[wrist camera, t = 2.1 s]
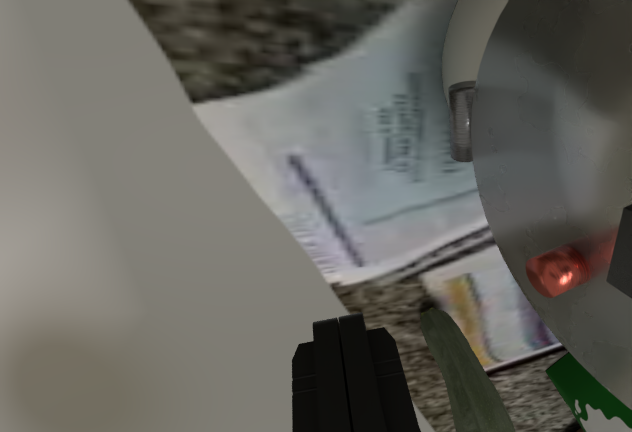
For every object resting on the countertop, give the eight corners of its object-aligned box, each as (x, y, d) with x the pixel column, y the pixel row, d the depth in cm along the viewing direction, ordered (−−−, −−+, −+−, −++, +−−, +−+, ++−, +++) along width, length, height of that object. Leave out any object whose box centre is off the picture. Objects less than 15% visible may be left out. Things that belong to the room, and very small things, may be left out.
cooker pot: (431, -143, 23) (512, -197, 15) (763, -235, 22) (1059, -353, 13) (448, 212, 37) (496, 289, 28) (654, 168, 35) (768, 235, 27)
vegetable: (417, 290, 42) (504, 516, 25) (458, 289, 42) (571, 513, 25) (410, 320, 44) (485, 545, 27) (449, 319, 44) (547, 541, 28)
